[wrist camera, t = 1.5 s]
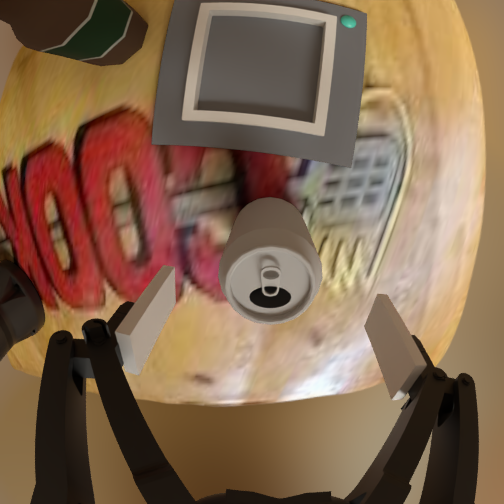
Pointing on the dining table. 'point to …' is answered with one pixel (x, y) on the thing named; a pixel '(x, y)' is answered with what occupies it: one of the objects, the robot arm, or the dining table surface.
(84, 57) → the beer bottle
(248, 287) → the can
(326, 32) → the dock
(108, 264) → the dining table surface
